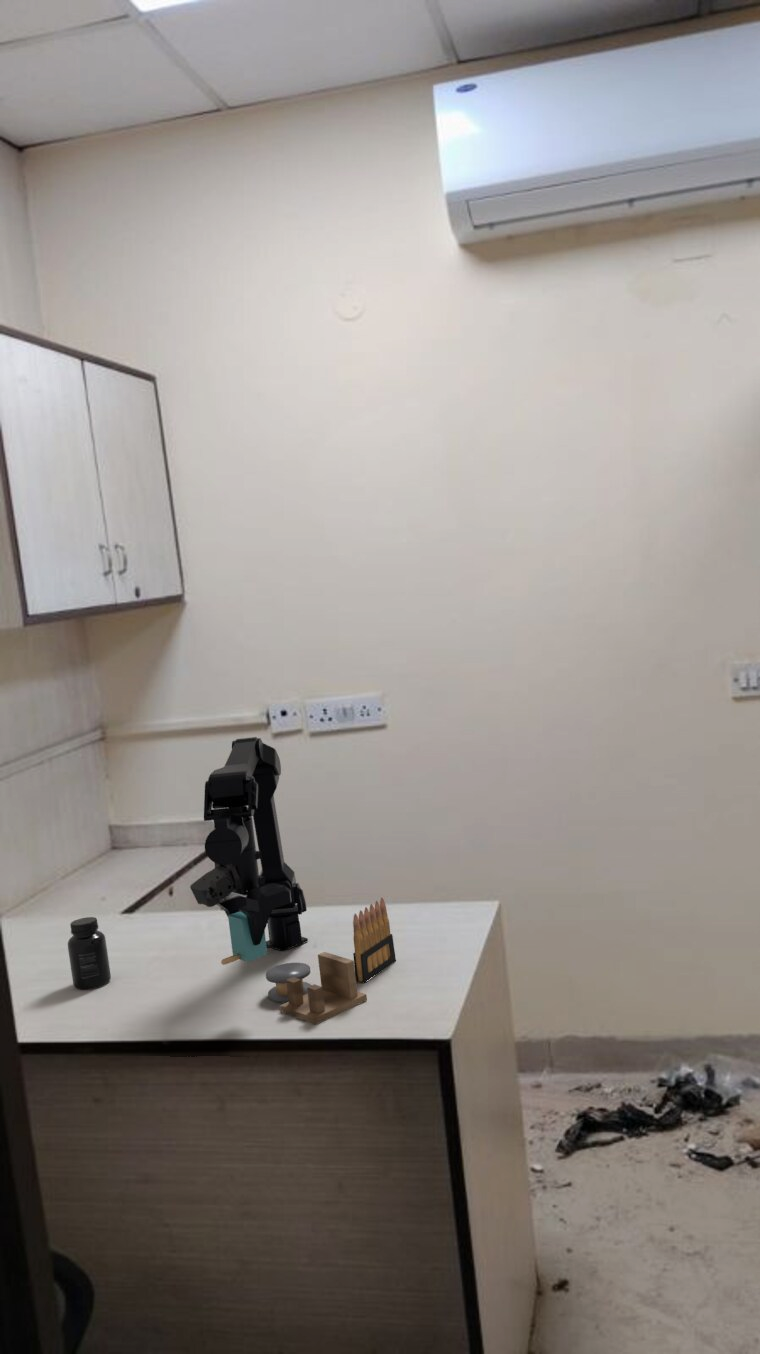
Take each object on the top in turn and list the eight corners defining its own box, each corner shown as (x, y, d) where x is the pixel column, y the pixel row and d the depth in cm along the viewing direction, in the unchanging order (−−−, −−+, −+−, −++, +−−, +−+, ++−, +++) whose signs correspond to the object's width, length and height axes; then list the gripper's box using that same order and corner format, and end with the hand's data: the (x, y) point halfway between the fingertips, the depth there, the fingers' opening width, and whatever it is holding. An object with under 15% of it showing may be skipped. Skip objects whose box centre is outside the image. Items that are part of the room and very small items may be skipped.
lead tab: (215, 963, 166) (209, 921, 165) (253, 949, 171) (248, 908, 170) (229, 968, 163) (223, 925, 162) (267, 954, 168) (262, 912, 167)
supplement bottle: (118, 976, 193) (110, 914, 192) (97, 991, 187) (88, 927, 186) (87, 976, 196) (79, 914, 195) (65, 990, 189) (56, 927, 188)
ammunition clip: (364, 983, 177) (356, 915, 176) (355, 982, 178) (347, 914, 177) (396, 960, 186) (388, 896, 185) (387, 959, 187) (380, 895, 186)
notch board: (280, 1011, 169) (275, 969, 168) (332, 988, 176) (327, 948, 176) (315, 1024, 162) (310, 981, 162) (367, 1000, 170) (362, 958, 169)
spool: (259, 996, 176) (256, 973, 176) (294, 981, 181) (291, 959, 181) (286, 1006, 171) (283, 983, 170) (321, 990, 176) (319, 968, 175)
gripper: (164, 854, 168) (176, 947, 169) (228, 868, 154) (240, 969, 155) (222, 837, 175) (233, 927, 177) (287, 850, 161) (299, 947, 163)
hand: (249, 942), depth 168 cm, fingers closed on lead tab, 4 cm apart
